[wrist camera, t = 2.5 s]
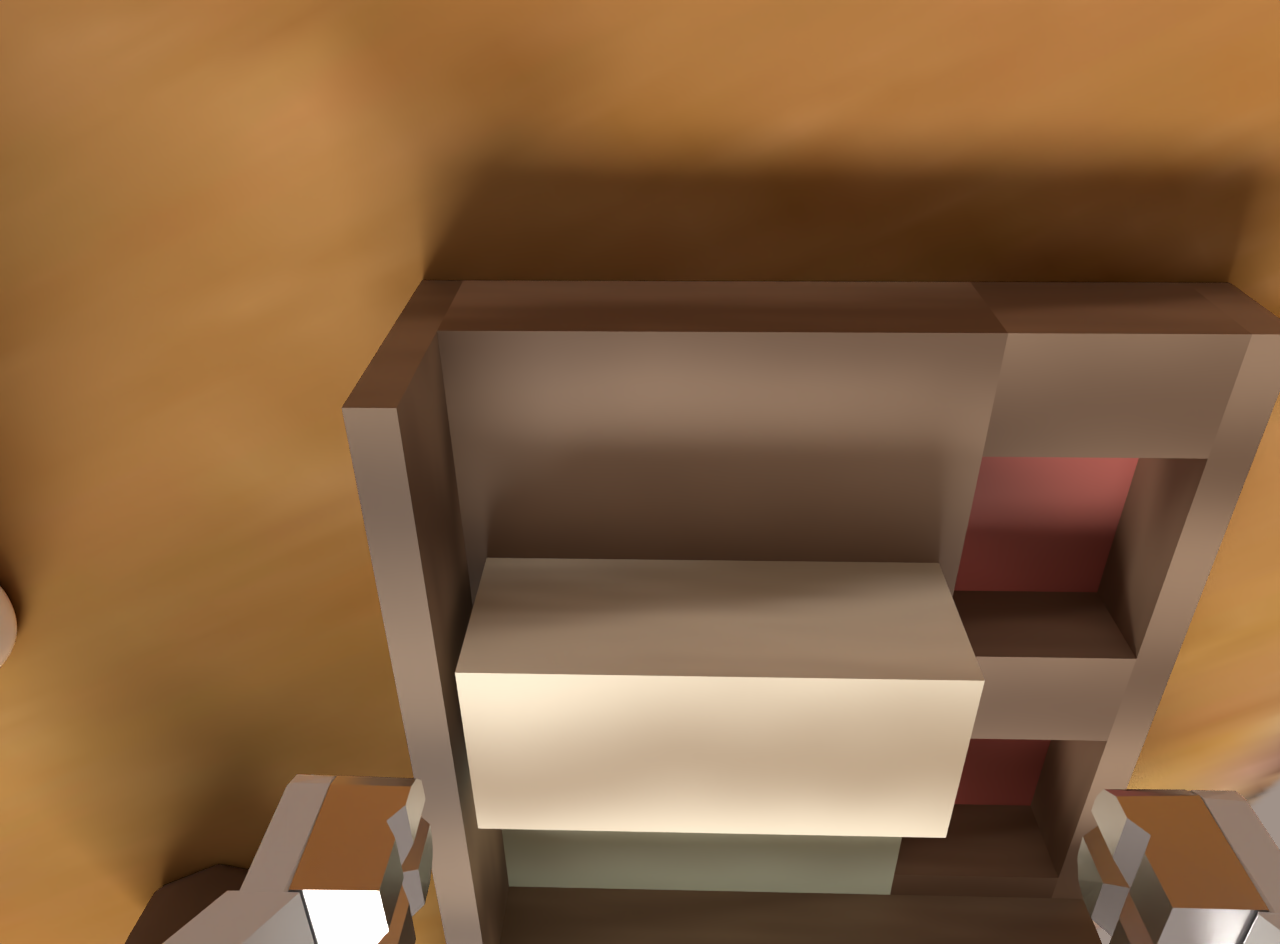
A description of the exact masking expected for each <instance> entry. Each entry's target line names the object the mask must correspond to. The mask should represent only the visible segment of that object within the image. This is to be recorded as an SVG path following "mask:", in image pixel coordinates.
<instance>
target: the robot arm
mask: <svg viewBox="0 0 1280 944" xmlns="http://www.w3.org/2000/svg"><path fill="white" fill-rule="evenodd" d="M425 799H426V798H425V794H424V789H423V785H422V780H419V779H414V778H391V777H368V776H345V775H337V776H335V775H307V774H297V775H296V776H295V777H294V778H293V779H292V780H291V781H290V783H289V784H288V785H287V786H286V788H285V791H284V793H283V795H282V797H281V800H280V802H279V804H278V806H277V808H276V811H275V813H274V815H273V817H272V820H271V822H270V824H269V826H268V828H267V831H266V833H265V835H264V837H263V840H262V842H261V844H260V846H259V848H258V851H257V853H256V855H255V857H254V860H253V862H252V864H251V866H250V868H249V871H248V873H247V875H246V877H245V880H244V882H243V884H242V886H241V888H240V891H226V892H225V893H224V894H222V895H221V896H220V897H219V898H218V899H216V900H215V901H214V902H213V903H211V904H210V905H209V906H208V907H207V908H205V909H204V910H203V911H202V912H200V913H199V914H198V915H197V916H196V917H194V918H193V919H192V920H191V921H189V922H188V923H187V924H186V925H185V926H183V927H182V928H181V929H180V930H178V931H177V932H176V933H175V934H173V935H172V936H171V937H170V938H169V939H167V940H166V941H165V942H164V943H162V944H415V940H416V937H415V931H414V926H413V921H412V916H413V915H414V914H415V913H416V912H417V911H418V910H419V909H420V908H421V907H422V906H423V905H424V904H425V901H426V896H427V892H428V888H429V884H430V877H431V868H432V859H433V846H432V833H431V827H430V824H429V823H428V822H427V821H426V820H425V819H423V818H422V817H421V814H422V810H423V807H424V803H425ZM1091 811H1092V814H1093V816H1094V818H1095V820H1096V822H1097V825H1098V826H1097V827H1095V828H1094V829H1092V830H1091V831H1090V832H1088V833H1087V834H1086V835H1084V836H1083V838H1082V841H1081V845H1080V849H1079V852H1078V856H1077V860H1078V881H1079V885H1080V889H1081V893H1082V897H1083V900H1084V903H1085V905H1086V908H1087V910H1088V913H1089V915H1090V918H1091V919H1092V920H1093V921H1094V922H1095V923H1097V924H1098V925H1099V926H1100V927H1101V928H1102V929H1104V930H1105V931H1106V932H1107V933H1108V934H1109V935H1110V936H1112V938H1111V941H1110V943H1109V944H1280V850H1279V848H1278V847H1277V845H1276V844H1275V842H1274V841H1273V839H1272V838H1271V836H1270V835H1269V833H1268V832H1267V831H1266V829H1265V827H1264V826H1263V824H1262V823H1261V821H1260V820H1259V818H1258V817H1257V815H1256V814H1255V812H1254V811H1253V809H1252V808H1251V806H1250V805H1249V803H1248V801H1247V800H1246V799H1245V798H1244V797H1243V796H1242V795H1240V794H1239V793H1238V792H1236V791H1205V790H1191V791H1187V790H1150V789H1104V790H1103V791H1102V792H1101V793H1099V794H1098V795H1097V796H1096V799H1095V802H1094V805H1093V808H1092V810H1091Z"/></svg>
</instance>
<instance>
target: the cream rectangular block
mask: <svg viewBox="0 0 1280 944" xmlns="http://www.w3.org/2000/svg"><path fill="white" fill-rule="evenodd" d="M455 676H456V683H457V690H458V697H459V703H460V710H461V717H462V723H463V730H464V737H465V743H466V750H467V757H468V764H469V770H470V777H471V784H472V790H473V797H474V804H475V810H476V817H477V824H478V828H481V829H531V830H581V831H631V832H681V833H731V834H780V835H830V836H880V837H930V838H946V835H947V831H948V827H949V823H950V819H951V815H952V811H953V807H954V803H955V799H956V795H957V791H958V787H959V783H960V779H961V775H962V770H963V766H964V762H965V758H966V754H967V750H968V746H969V742H970V738H971V734H972V730H973V726H974V722H975V718H976V714H977V710H978V706H979V702H980V698H981V694H982V690H983V686H984V682H985V680H984V678H983V675H982V672H981V670H980V667H979V665H978V662H977V660H976V657H975V654H974V652H973V649H972V647H971V644H970V642H969V639H968V636H967V634H966V631H965V629H964V626H963V624H962V621H961V618H960V616H959V613H958V611H957V608H956V606H955V603H954V600H953V598H952V595H951V593H950V590H949V588H948V585H947V582H946V580H945V577H944V575H943V572H942V570H941V567H940V564H939V563H898V562H811V561H725V560H638V559H552V558H486V562H485V566H484V569H483V573H482V577H481V580H480V584H479V587H478V591H477V595H476V598H475V602H474V606H473V609H472V613H471V616H470V620H469V624H468V627H467V631H466V635H465V638H464V642H463V645H462V649H461V653H460V656H459V660H458V664H457V667H456V671H455Z"/></svg>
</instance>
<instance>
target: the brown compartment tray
mask: <svg viewBox="0 0 1280 944" xmlns="http://www.w3.org/2000/svg"><path fill="white" fill-rule="evenodd" d="M1279 392H1280V319H1279V318H1278V317H1276V316H1275V315H1274V314H1272V313H1271V312H1270V311H1268V310H1267V309H1265V308H1264V307H1263V306H1261V305H1260V304H1259V303H1257V302H1256V301H1254V300H1253V299H1252V298H1250V297H1249V296H1247V295H1246V294H1245V293H1243V292H1242V291H1241V290H1239V289H1238V288H1236V287H1235V286H1234V285H1232V284H1231V283H1172V282H827V281H482V280H422V281H421V283H420V284H419V286H418V287H417V289H416V291H415V292H414V294H413V295H412V297H411V299H410V300H409V302H408V303H407V305H406V306H405V308H404V310H403V311H402V313H401V314H400V316H399V318H398V319H397V321H396V322H395V324H394V326H393V327H392V329H391V330H390V332H389V333H388V335H387V337H386V338H385V340H384V341H383V343H382V345H381V346H380V348H379V349H378V351H377V353H376V354H375V356H374V357H373V359H372V361H371V362H370V364H369V365H368V367H367V368H366V370H365V372H364V373H363V375H362V376H361V378H360V380H359V381H358V383H357V384H356V386H355V388H354V389H353V391H352V392H351V394H350V395H349V397H348V399H347V400H346V402H345V403H344V405H343V407H342V412H343V417H344V422H345V427H346V432H347V437H348V442H349V448H350V453H351V458H352V463H353V468H354V473H355V478H356V483H357V489H358V494H359V499H360V504H361V509H362V514H363V519H364V524H365V530H366V535H367V540H368V545H369V550H370V555H371V560H372V565H373V571H374V576H375V581H376V586H377V591H378V596H379V601H380V606H381V611H382V617H383V622H384V627H385V632H386V637H387V642H388V647H389V652H390V658H391V663H392V668H393V673H394V678H395V683H396V688H397V693H398V699H399V704H400V709H401V714H402V719H403V724H404V729H405V734H406V740H407V745H408V750H409V755H410V760H411V765H412V770H413V775H414V779H419V780H422V785H423V789H424V794H425V798H426V799H425V803H424V807H423V810H422V814H421V816H422V818H423V819H425V820H426V821H427V822H428V823H429V824H430V827H431V833H432V846H433V859H432V873H433V878H434V883H435V888H436V893H437V898H438V903H439V909H440V914H441V919H442V924H443V929H444V934H445V939H446V944H1102V943H1101V940H1100V938H1099V935H1098V933H1097V930H1096V928H1095V925H1094V923H1093V921H1092V919H1091V918H1090V915H1089V913H1088V910H1087V908H1086V905H1085V903H1084V900H1083V897H1082V893H1081V889H1080V885H1079V881H1078V860H1077V856H1078V852H1079V849H1080V845H1081V841H1082V838H1083V836H1084V835H1086V834H1087V833H1088V832H1090V831H1091V830H1092V829H1094V828H1095V827H1097V826H1098V825H1097V822H1096V820H1095V818H1094V816H1093V814H1092V811H1091V810H1092V808H1093V805H1094V802H1095V799H1096V796H1097V795H1098V794H1099V793H1101V792H1102V791H1103V790H1104V789H1126V788H1127V786H1128V783H1129V780H1130V778H1131V775H1132V773H1133V770H1134V768H1135V765H1136V762H1137V760H1138V757H1139V755H1140V752H1141V749H1142V747H1143V744H1144V742H1145V739H1146V736H1147V734H1148V731H1149V729H1150V726H1151V723H1152V721H1153V718H1154V716H1155V713H1156V711H1157V708H1158V705H1159V703H1160V700H1161V698H1162V695H1163V692H1164V690H1165V687H1166V685H1167V682H1168V679H1169V677H1170V674H1171V672H1172V669H1173V666H1174V664H1175V661H1176V659H1177V656H1178V654H1179V651H1180V648H1181V646H1182V643H1183V641H1184V638H1185V635H1186V633H1187V630H1188V628H1189V625H1190V622H1191V620H1192V617H1193V615H1194V612H1195V609H1196V607H1197V604H1198V602H1199V599H1200V596H1201V594H1202V591H1203V589H1204V586H1205V584H1206V581H1207V578H1208V576H1209V573H1210V571H1211V568H1212V565H1213V563H1214V560H1215V558H1216V555H1217V552H1218V550H1219V547H1220V545H1221V542H1222V539H1223V537H1224V534H1225V532H1226V529H1227V527H1228V524H1229V521H1230V519H1231V516H1232V514H1233V511H1234V508H1235V506H1236V503H1237V501H1238V498H1239V495H1240V493H1241V490H1242V488H1243V485H1244V482H1245V480H1246V477H1247V475H1248V472H1249V470H1250V467H1251V464H1252V462H1253V459H1254V457H1255V454H1256V451H1257V449H1258V446H1259V444H1260V441H1261V438H1262V436H1263V433H1264V431H1265V428H1266V425H1267V423H1268V420H1269V418H1270V415H1271V413H1272V410H1273V407H1274V405H1275V402H1276V400H1277V397H1278V394H1279ZM486 558H552V559H638V560H725V561H811V562H898V563H939V564H940V567H941V570H942V572H943V575H944V577H945V580H946V582H947V585H948V588H949V590H950V593H951V595H952V598H953V600H954V603H955V606H956V608H957V611H958V613H959V616H960V618H961V621H962V624H963V626H964V629H965V631H966V634H967V636H968V639H969V642H970V644H971V647H972V649H973V652H974V654H975V657H976V660H977V662H978V665H979V667H980V670H981V672H982V675H983V678H984V680H985V682H984V686H983V690H982V694H981V698H980V702H979V706H978V710H977V714H976V718H975V722H974V726H973V730H972V734H971V738H970V742H969V746H968V750H967V754H966V758H965V762H964V766H963V770H962V775H961V779H960V783H959V787H958V791H957V795H956V799H955V803H954V807H953V811H952V815H951V819H950V823H949V827H948V831H947V835H946V838H930V837H880V836H830V835H780V834H731V833H681V832H631V831H581V830H531V829H481V828H478V824H477V817H476V810H475V804H474V797H473V790H472V784H471V777H470V770H469V764H468V757H467V750H466V743H465V737H464V730H463V723H462V717H461V710H460V703H459V697H458V690H457V683H456V676H455V671H456V667H457V664H458V660H459V656H460V653H461V649H462V645H463V642H464V638H465V635H466V631H467V627H468V624H469V620H470V616H471V613H472V609H473V606H474V602H475V598H476V595H477V591H478V587H479V584H480V580H481V577H482V573H483V569H484V566H485V562H486Z"/></svg>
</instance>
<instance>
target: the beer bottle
mask: <svg viewBox="0 0 1280 944" xmlns="http://www.w3.org/2000/svg"><path fill="white" fill-rule="evenodd" d="M248 871H249V870H248V869H243V868H237V867H232V866H227V865H222V864H217V865H215V866H212V867H210V868H207V869H204V870H202V871H199V872H197V873H194V874H192V875H189V876H187V877H184V878H181V879H179V880H176V881H174V882H171V883H169V884H166V885H164V886H163V887H161V888H160V889H159V890H157V891H156V892H155V893H154V894H153V896H152V898H151V899H150V901H149V903H148V904H147V906H146V908H145V909H144V911H143V913H142V915H141V916H140V918H139V920H138V921H137V923H136V925H135V926H134V928H133V930H132V932H131V933H130V935H129V937H128V939H127V941H126V942H125V944H162V943H164V942H165V941H166V940H167V939H169V938H170V937H171V936H172V935H173V934H175V933H176V932H177V931H178V930H180V929H181V928H182V927H183V926H185V925H186V924H187V923H188V922H189V921H191V920H192V919H193V918H194V917H196V916H197V915H198V914H199V913H200V912H202V911H203V910H204V909H205V908H207V907H208V906H209V905H210V904H211V903H213V902H214V901H215V900H216V899H218V898H219V897H220V896H221V895H222V894H224V893H225V892H226V891H240V888H241V886H242V884H243V882H244V880H245V877H246V875H247V873H248Z"/></svg>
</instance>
